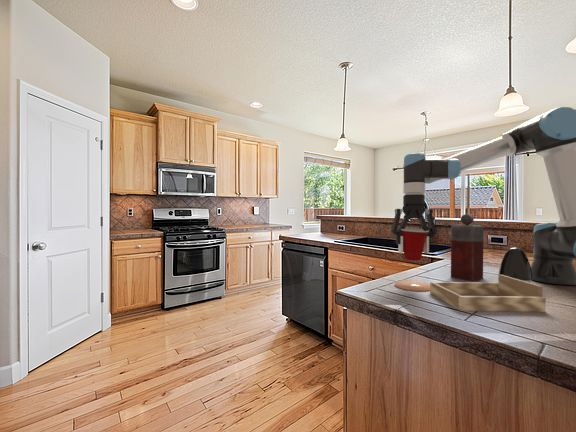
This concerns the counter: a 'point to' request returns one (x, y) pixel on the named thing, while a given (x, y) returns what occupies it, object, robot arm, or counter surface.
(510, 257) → the black bullet-shaped dome
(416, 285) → the saucer
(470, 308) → the tray
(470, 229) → the red canister with knob
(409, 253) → the plastic cup
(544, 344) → the counter surface
